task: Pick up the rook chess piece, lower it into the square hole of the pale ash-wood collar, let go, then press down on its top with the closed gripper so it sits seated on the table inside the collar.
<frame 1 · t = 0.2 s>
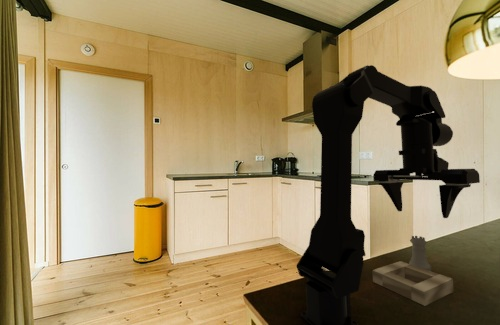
hand: (420, 214, 51), 14 cm above the table, fingers open, 9 cm apart
rook chess piece: (419, 272, 53), on the table
socket collar: (411, 286, 47), on the table
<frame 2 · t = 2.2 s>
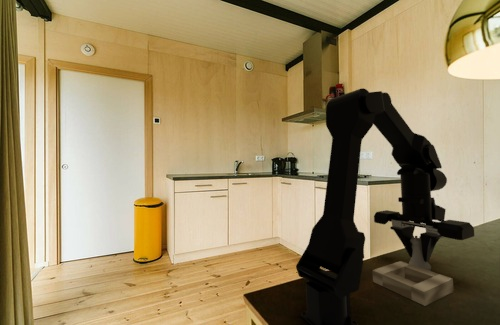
hand: (419, 259, 53), 3 cm above the table, fingers closed on rook chess piece, 3 cm apart
rook chess piece: (419, 272, 53), on the table, touching gripper
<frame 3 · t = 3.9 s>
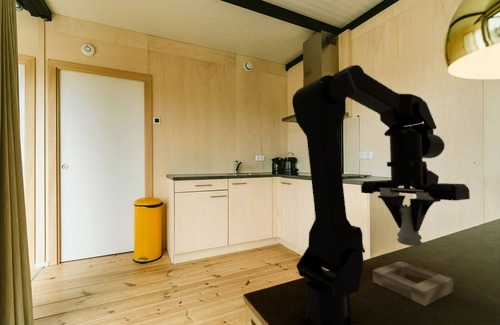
hand: (408, 229, 48), 11 cm above the table, fingers closed on rook chess piece, 3 cm apart
rook chess piece: (409, 244, 48), point 8 cm above the table, touching gripper
when the fingers open (3 cm above the table, at t = 5.6 s): rook chess piece stays where it is, resting in socket collar.
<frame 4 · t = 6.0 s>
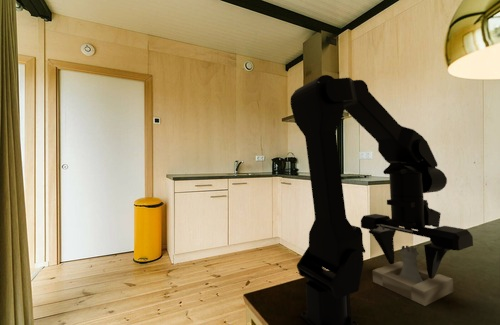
hand: (410, 270, 47), 3 cm above the table, fingers open, 7 cm apart
rook chess piece: (411, 287, 47), resting in socket collar
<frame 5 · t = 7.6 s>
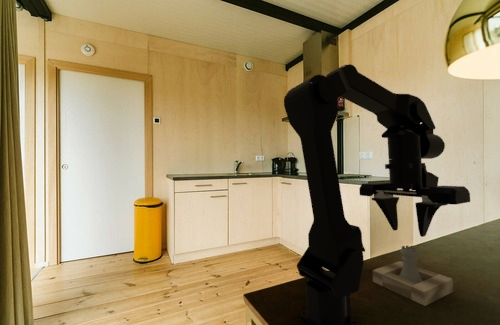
hand: (408, 233, 47), 11 cm above the table, fingers open, 5 cm apart
nothing on the table moved.
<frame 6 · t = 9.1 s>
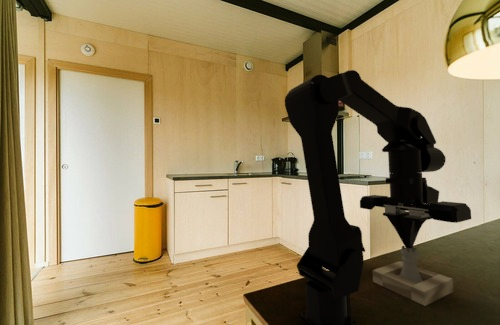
hand: (409, 247, 47), 8 cm above the table, fingers closed, pressing on rook chess piece
rook chess piece: (411, 287, 47), resting in socket collar, touching gripper
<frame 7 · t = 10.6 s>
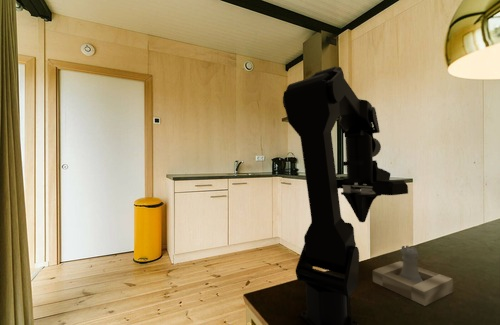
hand: (362, 221, 54), 12 cm above the table, fingers closed
rook chess piece: (411, 287, 47), resting in socket collar
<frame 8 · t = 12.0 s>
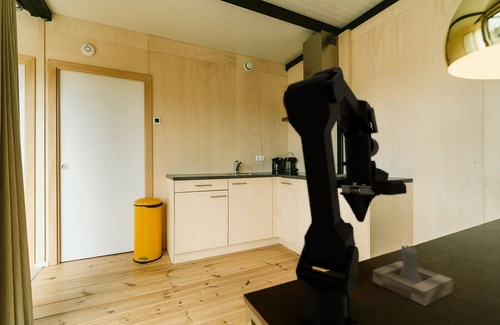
hand: (360, 221, 54), 12 cm above the table, fingers closed
nothing on the table moved.
at the end: rook chess piece 0.1 cm off-centre on the socket collar, point 0.0 cm above the socket collar's base; rook chess piece tilted 0°; the gripper is holding nothing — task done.
